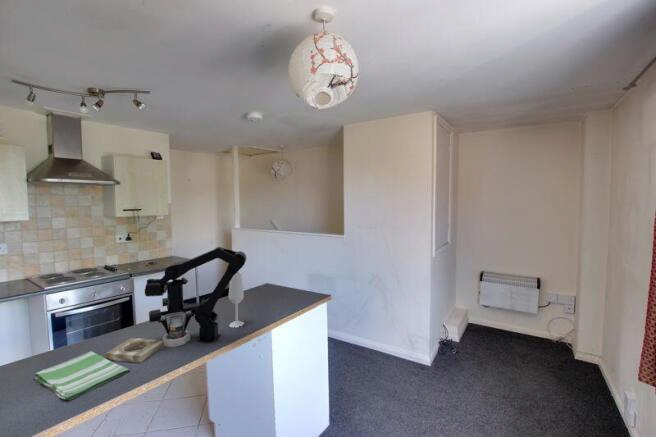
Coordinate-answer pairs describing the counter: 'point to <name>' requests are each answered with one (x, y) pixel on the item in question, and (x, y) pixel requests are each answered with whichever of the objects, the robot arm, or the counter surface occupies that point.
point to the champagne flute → (236, 296)
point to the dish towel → (79, 375)
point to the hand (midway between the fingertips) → (176, 332)
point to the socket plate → (136, 356)
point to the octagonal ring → (176, 340)
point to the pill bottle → (176, 327)
